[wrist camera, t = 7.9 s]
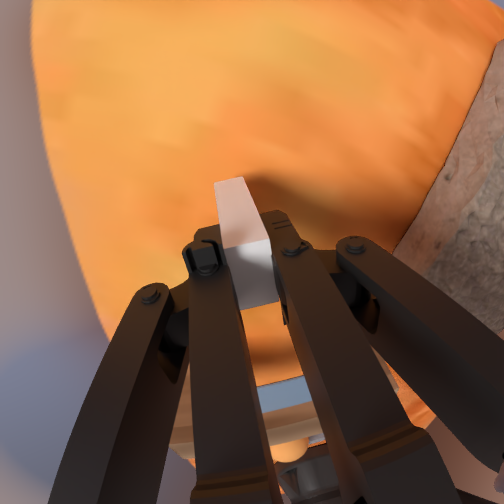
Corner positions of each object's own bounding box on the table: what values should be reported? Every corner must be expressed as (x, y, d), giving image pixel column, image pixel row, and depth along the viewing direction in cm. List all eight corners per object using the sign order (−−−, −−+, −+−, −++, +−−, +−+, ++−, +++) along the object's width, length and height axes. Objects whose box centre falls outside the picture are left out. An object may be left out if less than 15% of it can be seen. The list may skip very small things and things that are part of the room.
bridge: (345, 321, 25) (390, 408, 17) (180, 360, 24) (183, 459, 17) (346, 296, 23) (399, 387, 16) (168, 338, 23) (166, 444, 15)
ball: (305, 435, 35) (315, 463, 30) (265, 444, 35) (271, 474, 29) (300, 408, 34) (311, 437, 28) (257, 418, 34) (263, 449, 28)
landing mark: (327, 415, 35) (327, 416, 35) (238, 437, 34) (238, 438, 34) (330, 367, 28) (331, 368, 28) (214, 395, 28) (214, 397, 28)
